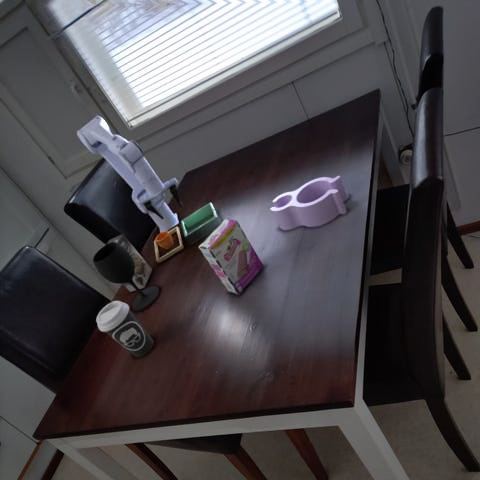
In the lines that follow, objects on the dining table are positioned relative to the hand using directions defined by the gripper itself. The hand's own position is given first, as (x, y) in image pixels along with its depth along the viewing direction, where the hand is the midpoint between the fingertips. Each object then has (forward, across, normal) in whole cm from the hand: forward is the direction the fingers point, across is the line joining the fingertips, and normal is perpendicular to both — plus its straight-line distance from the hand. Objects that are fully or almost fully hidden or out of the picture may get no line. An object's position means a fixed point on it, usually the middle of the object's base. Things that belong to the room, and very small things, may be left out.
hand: (172, 212), depth 154 cm
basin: (+9, +6, -4) cm, 12 cm away
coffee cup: (+10, -21, -48) cm, 53 cm away
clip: (+10, +38, -34) cm, 52 cm away
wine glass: (+10, -19, -25) cm, 33 cm away
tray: (+9, -8, -2) cm, 12 cm away
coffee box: (+10, -20, -13) cm, 26 cm away
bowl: (+9, -8, -2) cm, 12 cm away
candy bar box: (+10, +13, -45) cm, 48 cm away
